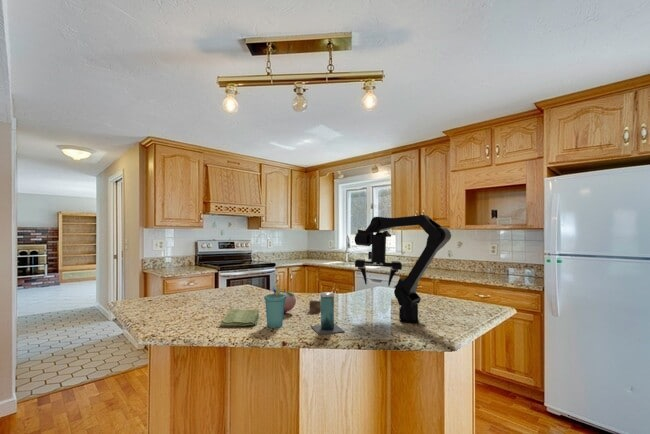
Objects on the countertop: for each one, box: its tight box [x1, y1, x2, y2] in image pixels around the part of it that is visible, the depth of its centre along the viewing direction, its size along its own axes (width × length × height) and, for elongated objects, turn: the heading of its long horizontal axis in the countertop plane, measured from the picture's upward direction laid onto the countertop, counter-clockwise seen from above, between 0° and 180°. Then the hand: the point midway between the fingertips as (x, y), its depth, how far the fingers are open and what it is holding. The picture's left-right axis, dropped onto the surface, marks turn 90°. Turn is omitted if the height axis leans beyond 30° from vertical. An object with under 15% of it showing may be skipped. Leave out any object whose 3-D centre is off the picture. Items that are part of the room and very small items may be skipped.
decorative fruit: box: [280, 288, 297, 314], centre depth 134 cm, size 9×8×10 cm
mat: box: [311, 323, 345, 336], centre depth 112 cm, size 9×9×1 cm
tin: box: [319, 291, 335, 331], centre depth 112 cm, size 5×5×12 cm
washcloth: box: [219, 308, 260, 328], centre depth 123 cm, size 13×18×3 cm
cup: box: [263, 283, 286, 329], centre depth 116 cm, size 14×8×15 cm, turn 7°
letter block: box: [309, 298, 321, 313], centre depth 139 cm, size 4×4×5 cm
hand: (377, 285), depth 133 cm, fingers open, 9 cm apart
